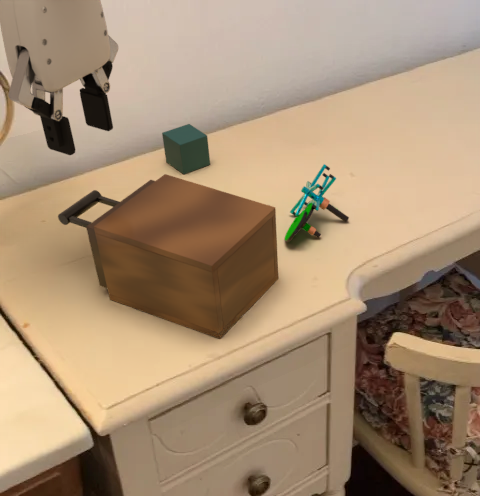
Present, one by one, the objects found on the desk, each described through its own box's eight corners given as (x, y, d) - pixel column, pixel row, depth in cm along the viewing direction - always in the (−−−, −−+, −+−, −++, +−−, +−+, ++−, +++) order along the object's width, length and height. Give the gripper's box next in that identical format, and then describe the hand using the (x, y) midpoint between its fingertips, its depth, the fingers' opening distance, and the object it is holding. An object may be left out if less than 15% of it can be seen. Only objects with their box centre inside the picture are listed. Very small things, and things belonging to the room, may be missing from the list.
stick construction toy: (299, 180, 110) (327, 150, 104) (342, 210, 113) (372, 183, 106) (266, 247, 105) (293, 220, 98) (312, 278, 107) (341, 253, 101)
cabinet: (109, 299, 94) (93, 226, 87) (175, 244, 102) (164, 173, 96) (220, 339, 90) (211, 265, 83) (278, 278, 98) (275, 207, 92)
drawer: (52, 269, 96) (36, 210, 91) (115, 221, 104) (103, 164, 98) (200, 321, 91) (192, 262, 85) (255, 268, 98) (251, 210, 93)
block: (183, 174, 114) (179, 144, 111) (166, 162, 117) (161, 132, 114) (210, 164, 117) (207, 135, 114) (192, 152, 119) (189, 123, 116)
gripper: (71, -75, 83) (104, 100, 96) (-62, -27, 72) (-5, 165, 84) (133, -62, 81) (158, 116, 94) (6, -10, 70) (54, 184, 82)
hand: (81, 137), depth 89 cm, fingers open, 5 cm apart
